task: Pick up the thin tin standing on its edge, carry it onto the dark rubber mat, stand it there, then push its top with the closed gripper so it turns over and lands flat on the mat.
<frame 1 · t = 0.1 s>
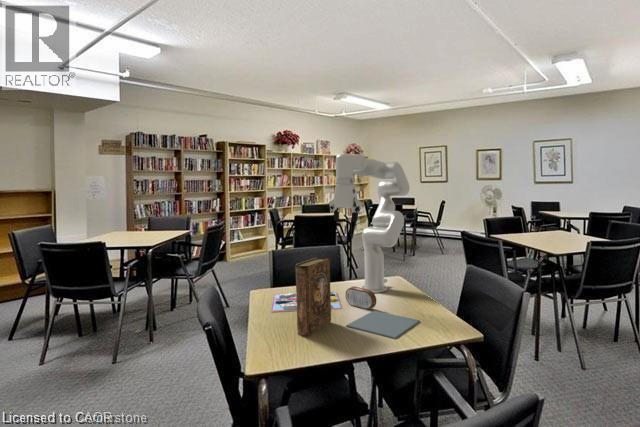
hand: (345, 221, 168), 37 cm above the table, tool pointing down, fingers open, 9 cm apart
book: (314, 328, 140), on the table
puzzle board: (306, 304, 172), on the table
mat: (383, 324, 142), on the table
tin: (360, 307, 163), on the table
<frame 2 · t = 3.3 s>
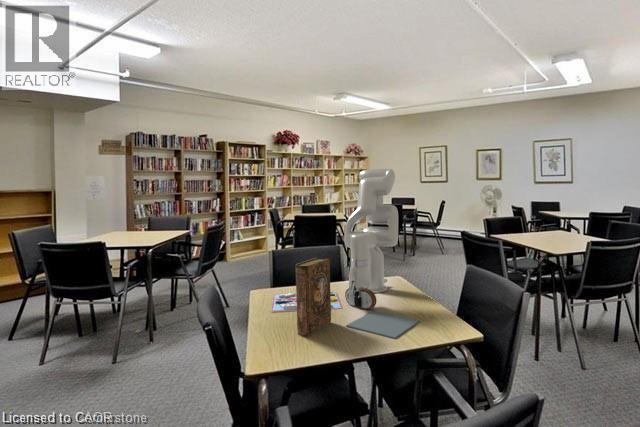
hand: (360, 304, 163), 1 cm above the table, tool pointing down, fingers closed on tin, 2 cm apart
tin: (360, 307, 163), on the table, touching gripper
everything else where it was.
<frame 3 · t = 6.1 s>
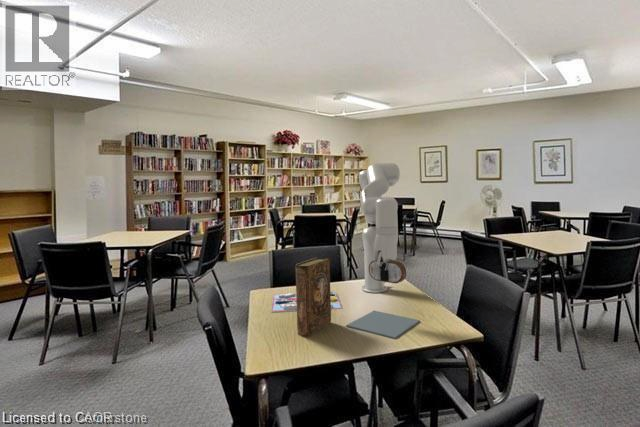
hand: (386, 279, 143), 17 cm above the table, tool pointing down, fingers closed on tin, 2 cm apart
tin: (386, 282, 143), point 15 cm above the table, touching gripper
everything else where it was.
when the fingers open (2 cm above the table, at t = 8.8 s): tin stays where it is, resting on mat.
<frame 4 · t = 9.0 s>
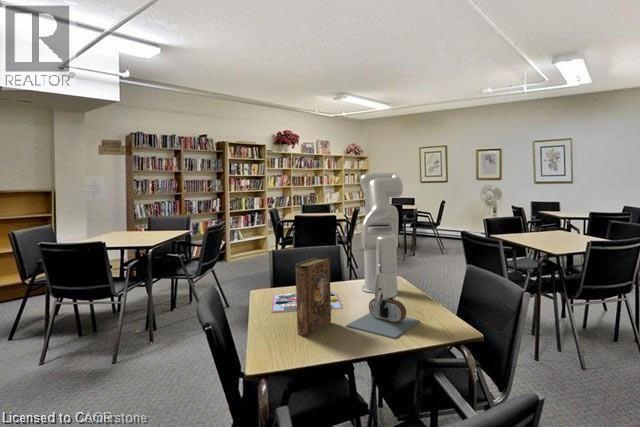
hand: (387, 314, 144), 3 cm above the table, tool pointing down, fingers open, 4 cm apart
tin: (386, 320, 144), resting on mat
everything else where it was.
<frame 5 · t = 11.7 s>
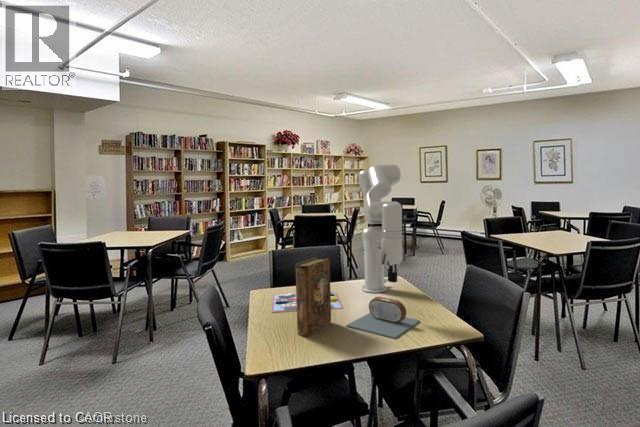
hand: (392, 281, 147), 15 cm above the table, tool pointing down, fingers closed
nothing on the table moved.
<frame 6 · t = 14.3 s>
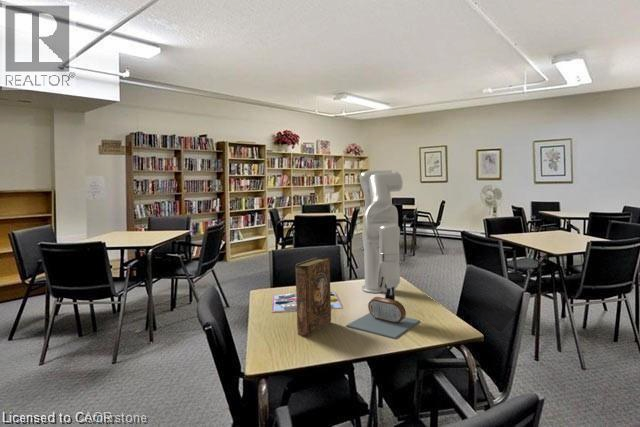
hand: (390, 304, 146), 6 cm above the table, tool pointing down, fingers closed
tin: (386, 320, 144), point 1 cm above the table, touching gripper, mat
everything else where it was.
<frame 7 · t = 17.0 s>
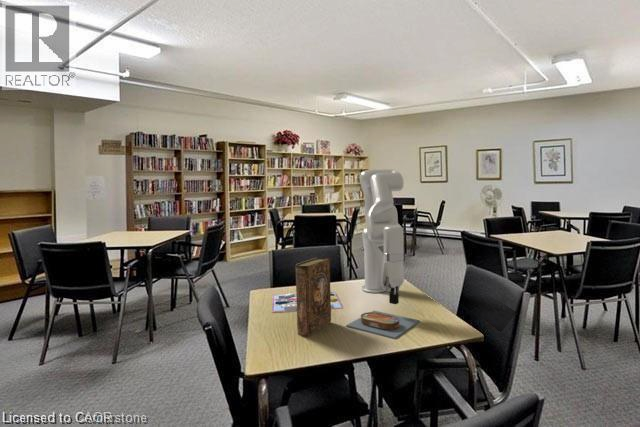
hand: (394, 303, 149), 6 cm above the table, tool pointing down, fingers closed
tin: (385, 318, 144), point 2 cm above the table, touching mat
everything else where it was.
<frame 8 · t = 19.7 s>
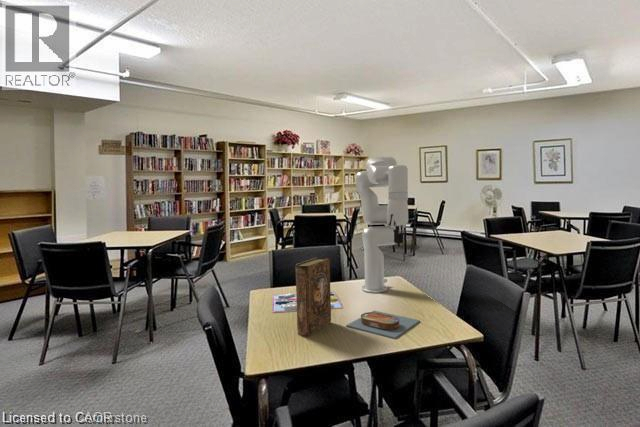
hand: (398, 242, 150), 29 cm above the table, tool pointing down, fingers closed
nothing on the table moved.
at the end: tin tilted 86°; tin inside the target area on the mat (1.9 cm from its centre), point 1.6 cm above the mat's base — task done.
